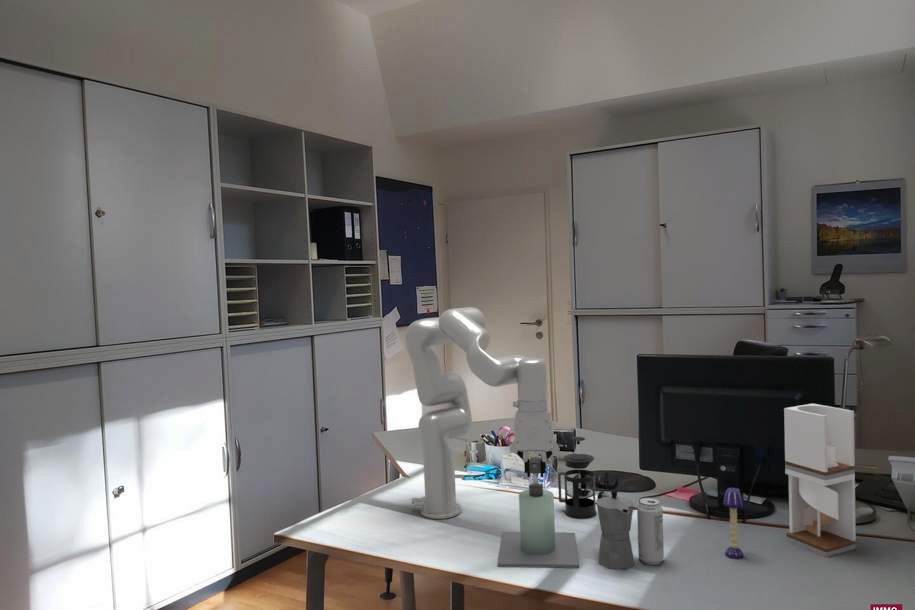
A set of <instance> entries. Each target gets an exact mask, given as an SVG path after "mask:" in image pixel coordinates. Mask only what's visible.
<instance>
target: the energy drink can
mask: <svg viewBox="0 0 915 610" xmlns="http://www.w3.org/2000/svg"><path fill="white" fill-rule="evenodd" d="M636 510H637V511H636V512H637V516H636V517H637V545H638V546H637V547H638V549H637V551H638V558H639V559H640V561H641V562H642V563H643V564H647V565H653V566H655V565H659V564H661V563H662V561H663V560H664V559H665V555H664V554H665V553H664V548H665V547H664V521H663V520H664V519H663V518H664V516H663V515H664V513H663V507H662V505H661V503H660V500H659V499H658V498H653V497H642V498H641V499H639V502H638V505H637V508H636Z"/></svg>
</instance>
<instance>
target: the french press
mask: <svg viewBox="0 0 915 610" xmlns="http://www.w3.org/2000/svg"><path fill="white" fill-rule="evenodd" d="M570 440H571V441H574V442H575V441H576V444H577V453H569V454H566V455H565V456H563V460H564V461H565V464H564V465H565V467H567V468H571V469H570V470H566V471H560V472H558V474H557V478H558V479H557V480H558V482H557V483H558V502H559V503H564V505H565V510H564V514H565V516H567V517H568V518H571V519H577V520H578V519H579V520H585V519H592V518H594V517H596V516H597V514H598V511H597V510H596V507H597V503H596V481H595V479H596V477H595V472H593V471H592V470H587V468H588V467H589V465H590V464H591V463H592V462H593V461H594V460H595V457H594V456H593V455H591V454H586V453H580V444H581V442H583V441H586V438H585V437H583V436H573V437H570ZM570 475H578V478H577V477H570ZM562 476H564V477H563V479H564V499H562V479H561V477H562ZM587 476H589V477H587ZM568 482H569V483H572V488H568ZM590 482H592V489H590V488H587V483H590ZM568 497H569V498H568Z"/></svg>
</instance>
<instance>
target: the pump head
mask: <svg viewBox="0 0 915 610" xmlns="http://www.w3.org/2000/svg"><path fill="white" fill-rule="evenodd" d="M540 460H541V456H540V457H538V456H536V457H535V456H533V457H532V456H531V457H529V467H530V474H532V477H533V478H532V479H533V480H532V481H533V482H532V484H534V483H538V484H539V476H538V475H539V474H541V467H540Z"/></svg>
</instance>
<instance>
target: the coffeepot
mask: <svg viewBox="0 0 915 610" xmlns="http://www.w3.org/2000/svg"><path fill="white" fill-rule="evenodd" d="M610 493H611V496H610V494H609V493H608V492H605V491H603V490H602V491H599V493H598V494H597V497H596V498H597V499H595V503H596V507H597V514H598V519H599V520H598V521H599V525H600V530H601V535H600V541H599V547H598V548H599V549H598V554H597V555H598V556H597V557H598V564H600V566H602V567H604V568H607V569H611V570H627V569H629V568H630V569H631V567H633V566H635V564H636V563H635V559H634V554H633V547H632V544H631V542H632V541H631V538H630V537H631V536H630V531H631V529H632V528H631V527H632V520H633V512H634V511H633V510H634V503H633V500H632V499H629V498H625V497H623V496H618V490H615V489H613V490H611V491H610Z"/></svg>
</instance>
